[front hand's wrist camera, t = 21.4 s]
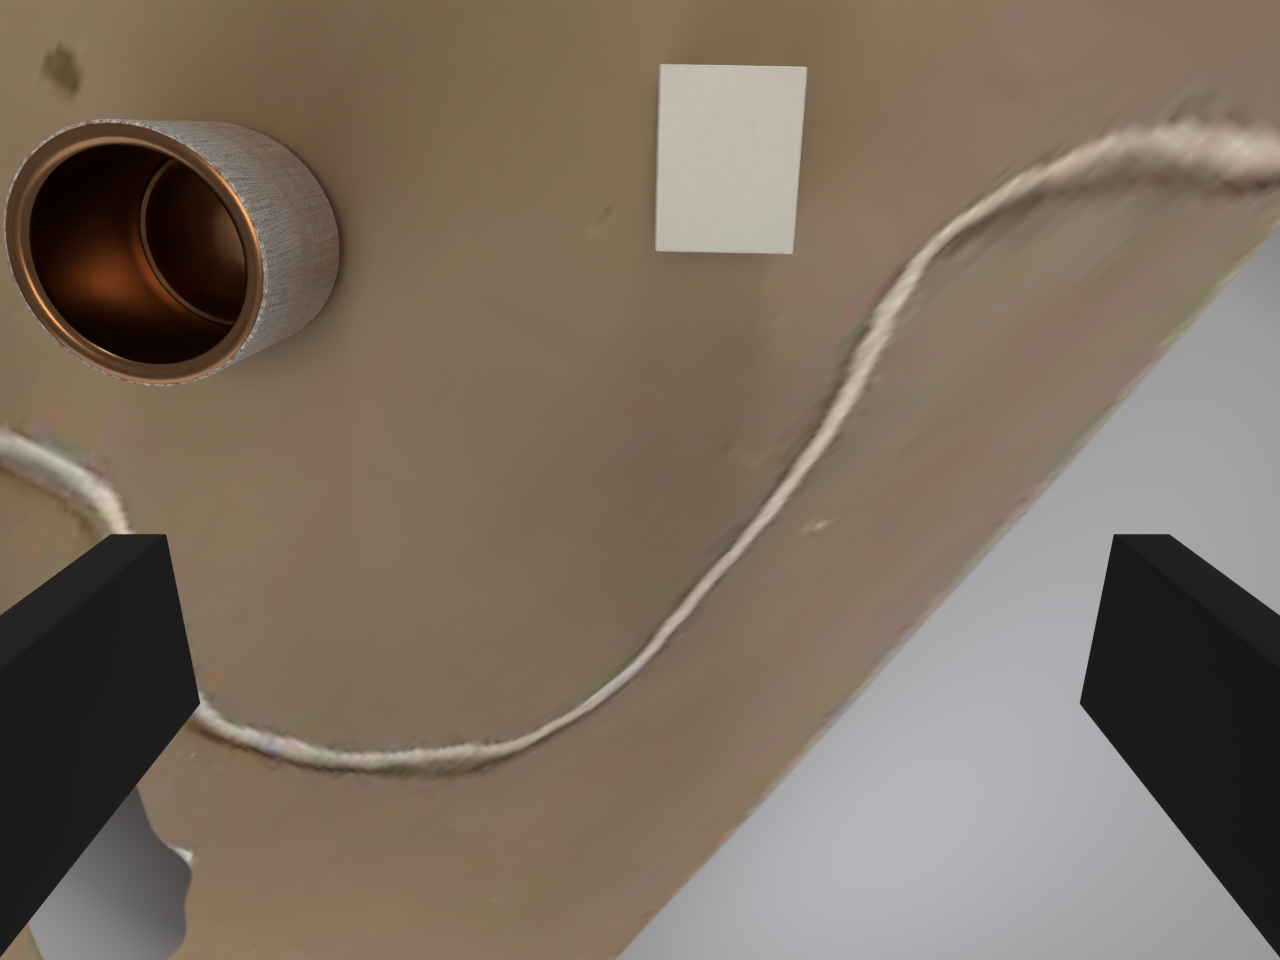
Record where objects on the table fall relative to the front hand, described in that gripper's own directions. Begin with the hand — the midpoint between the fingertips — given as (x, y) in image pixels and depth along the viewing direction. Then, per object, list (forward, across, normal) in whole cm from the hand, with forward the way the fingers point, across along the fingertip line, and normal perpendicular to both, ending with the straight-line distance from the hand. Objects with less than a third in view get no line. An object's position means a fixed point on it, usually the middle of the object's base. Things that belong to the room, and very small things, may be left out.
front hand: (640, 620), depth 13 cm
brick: (+36, -4, -6) cm, 36 cm away
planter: (+36, +20, -2) cm, 41 cm away
